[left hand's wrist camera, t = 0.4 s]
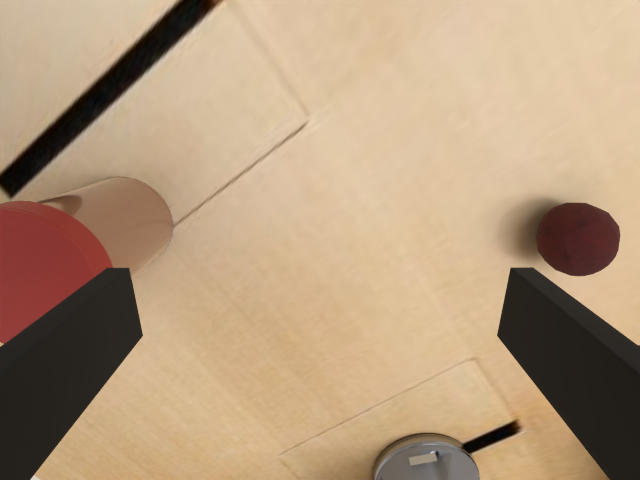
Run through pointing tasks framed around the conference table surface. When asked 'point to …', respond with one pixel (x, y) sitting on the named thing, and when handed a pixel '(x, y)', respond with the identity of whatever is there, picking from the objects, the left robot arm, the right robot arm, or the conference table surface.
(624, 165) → the conference table surface
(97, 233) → the jar
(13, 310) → the lid
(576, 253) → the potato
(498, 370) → the conference table surface
